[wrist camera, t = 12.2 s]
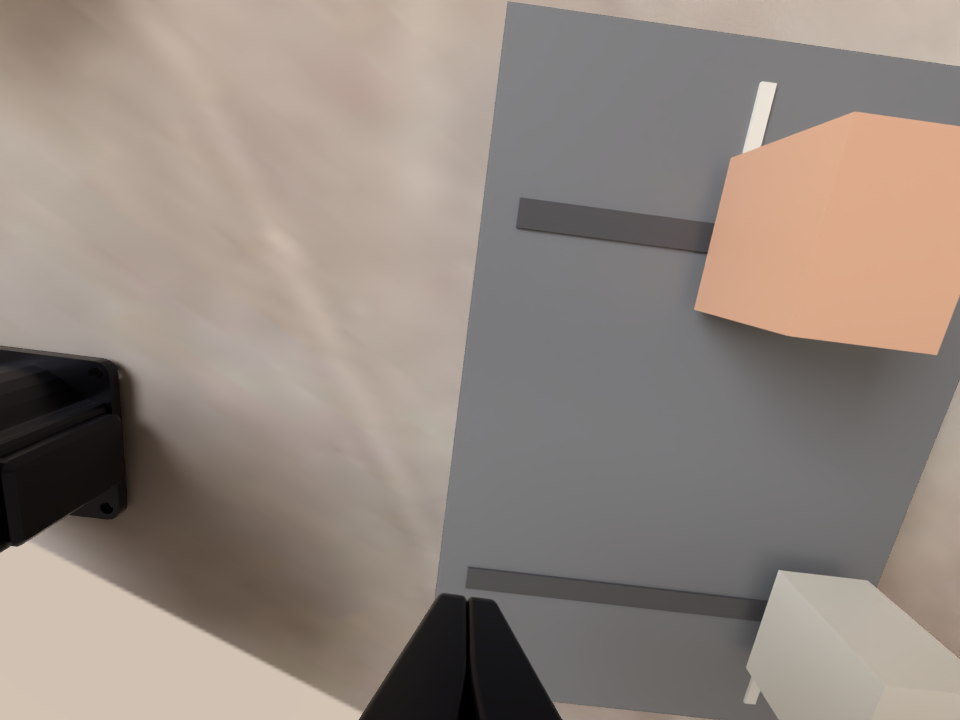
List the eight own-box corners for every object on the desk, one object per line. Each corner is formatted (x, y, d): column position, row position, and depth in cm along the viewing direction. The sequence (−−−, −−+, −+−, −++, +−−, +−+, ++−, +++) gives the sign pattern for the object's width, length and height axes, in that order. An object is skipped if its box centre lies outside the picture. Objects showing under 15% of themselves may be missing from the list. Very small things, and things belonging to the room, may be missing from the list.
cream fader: (745, 667, 16) (833, 806, 12) (778, 570, 15) (885, 686, 11) (829, 676, 16) (944, 818, 12) (867, 580, 15) (1006, 699, 11)
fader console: (432, 622, 19) (423, 690, 16) (502, 52, 14) (507, -1, 11) (769, 659, 20) (820, 733, 17) (958, 117, 15) (1083, 82, 12)
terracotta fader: (693, 309, 13) (788, 335, 9) (730, 158, 12) (854, 111, 8) (797, 323, 13) (936, 354, 9) (842, 173, 12) (1021, 134, 8)
